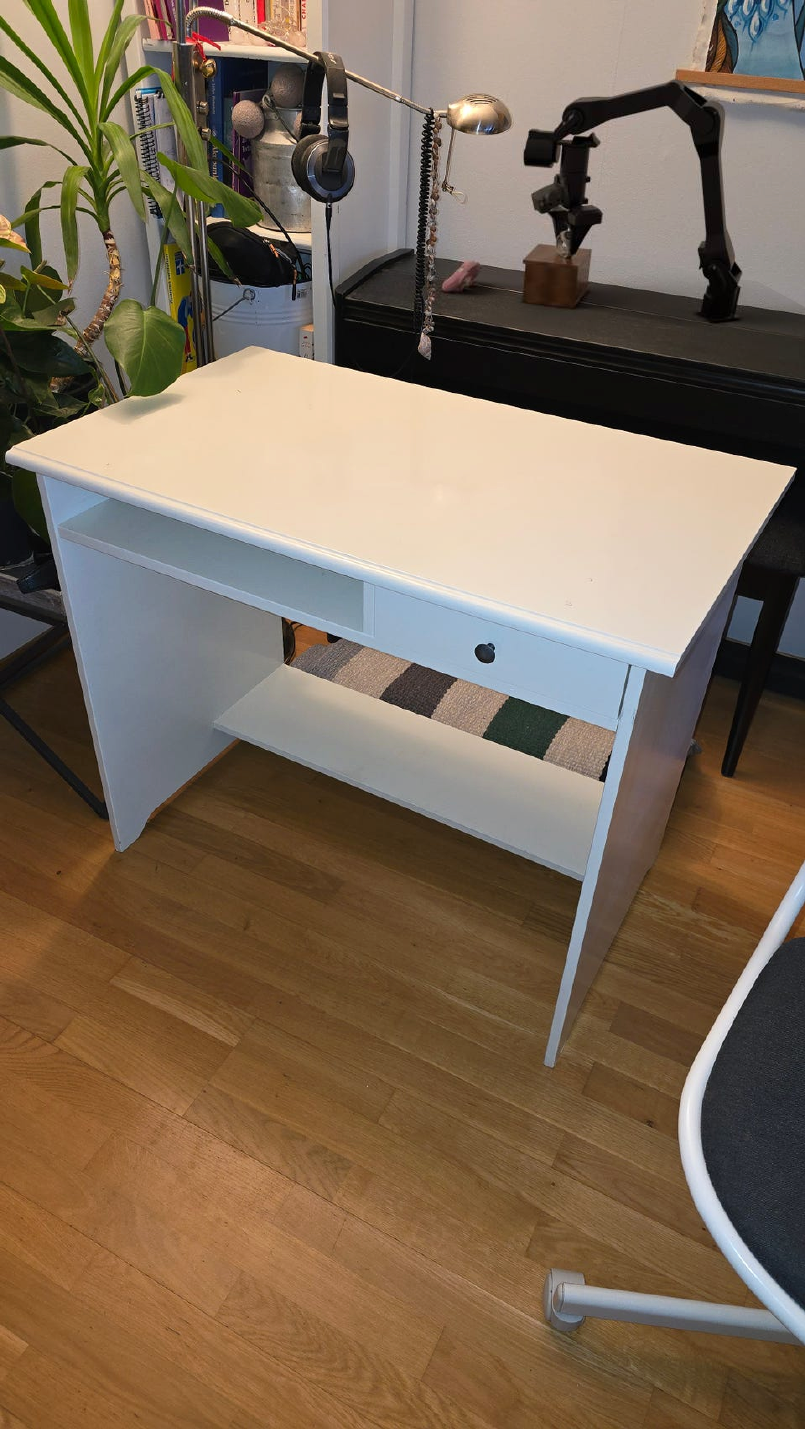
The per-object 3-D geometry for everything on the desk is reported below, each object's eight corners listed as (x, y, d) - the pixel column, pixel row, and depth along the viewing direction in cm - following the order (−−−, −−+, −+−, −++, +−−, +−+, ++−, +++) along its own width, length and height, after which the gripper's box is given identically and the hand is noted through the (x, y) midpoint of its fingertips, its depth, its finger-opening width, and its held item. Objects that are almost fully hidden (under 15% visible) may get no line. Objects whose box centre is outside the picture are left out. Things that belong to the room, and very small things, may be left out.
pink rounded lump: (454, 301, 223) (468, 275, 217) (439, 289, 223) (452, 262, 218) (475, 289, 229) (489, 263, 224) (460, 277, 229) (473, 250, 224)
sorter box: (522, 302, 218) (525, 264, 213) (537, 284, 227) (540, 247, 222) (573, 308, 215) (577, 270, 209) (587, 290, 224) (591, 253, 218)
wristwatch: (563, 260, 212) (566, 235, 209) (551, 252, 216) (553, 227, 213) (578, 258, 213) (581, 233, 209) (565, 250, 217) (567, 226, 214)
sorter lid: (522, 263, 213) (522, 259, 212) (538, 247, 222) (538, 243, 221) (577, 269, 209) (578, 265, 209) (591, 253, 218) (591, 249, 218)
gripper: (519, 163, 208) (514, 242, 219) (557, 184, 195) (550, 267, 205) (567, 159, 211) (560, 237, 221) (608, 179, 198) (598, 261, 208)
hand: (565, 250), depth 214 cm, fingers closed on wristwatch, 6 cm apart
